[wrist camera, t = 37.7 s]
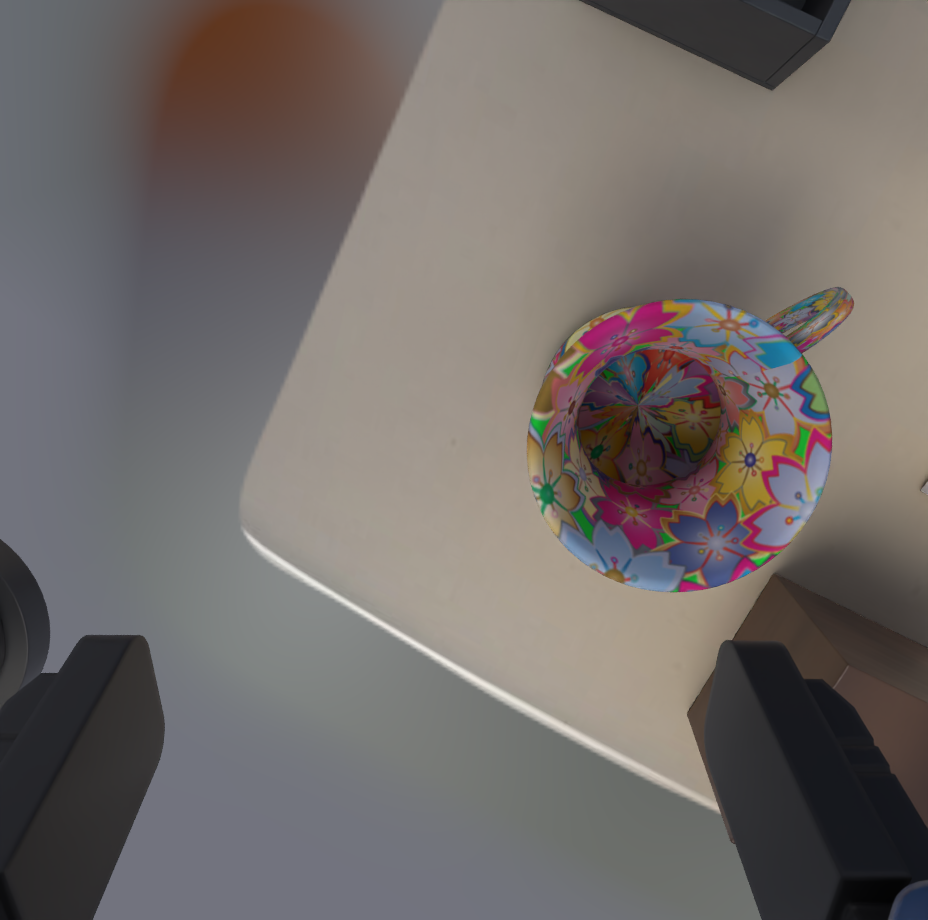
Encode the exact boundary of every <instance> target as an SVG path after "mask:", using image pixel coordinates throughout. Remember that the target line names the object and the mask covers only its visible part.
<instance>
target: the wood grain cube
mask: <svg viewBox="0 0 928 920" xmlns="http://www.w3.org/2000/svg"><path fill="white" fill-rule="evenodd" d="M733 640H750V641H780V642H782V643H783V644H784V645H785V647H786V648H787V650H788V651H789V653H790V655H791V657H792V659H793V660H794V662H795V664H796V666H797V668H798V670H799V671H800V673H801V675H802V677H803V679H823V680H824V681H825V682H826V683H828V684H829V685H830V686H831V687H832V688H833V689H834V690H836V691H837V692H838V693H839V694H840V695H841V696H842V697H844V698H845V699H846V700H847V701H848V702H849V703H850V704H852V705H853V706H854V707H855V709H856V710H857V712H858V714H859V715H860V717H861V719H862V720H863V722H864V724H865V725H866V727H867V729H868V730H869V732H870V734H871V735H872V737H873V739H874V745H875V746H878V747H879V749H880V750H881V752H882V754H883V755H884V757H885V759H886V760H887V762H888V764H889V765H890V771H891V773H892V774H895V775H896V777H897V778H898V780H899V782H900V783H901V785H902V787H903V788H904V790H905V792H906V793H907V795H908V797H909V798H910V800H911V802H912V803H913V805H914V807H915V808H916V810H917V812H918V813H919V815H920V817H921V818H922V820H923V822H924V823H925V825H926V826H927V828H928V648H926V647H924V646H922V645H920V644H918V643H916V642H914V641H912V640H910V639H908V638H906V637H904V636H902V635H900V634H898V633H896V632H894V631H892V630H890V629H888V628H885V627H883V626H881V625H879V624H877V623H875V622H873V621H871V620H869V619H867V618H865V617H863V616H861V615H859V614H857V613H855V612H853V611H851V610H849V609H847V608H844V607H842V606H840V605H838V604H836V603H834V602H832V601H830V600H828V599H826V598H824V597H822V596H820V595H818V594H816V593H814V592H812V591H810V590H808V589H806V588H803V587H801V586H799V585H797V584H795V583H793V582H791V581H789V580H787V579H785V578H783V577H781V576H779V575H777V574H773V575H772V577H771V579H770V580H769V582H768V584H767V585H766V587H765V588H764V590H763V592H762V593H761V595H760V597H759V598H758V600H757V601H756V603H755V605H754V606H753V608H752V610H751V611H750V613H749V614H748V616H747V618H746V619H745V621H744V623H743V624H742V626H741V627H740V629H739V631H738V632H737V634H736V636H735V637H734V639H733ZM714 672H715V670H714V671H713V673H712V675H711V676H710V678H709V679H708V681H707V683H706V684H705V686H704V688H703V689H702V691H701V692H700V694H699V696H698V697H697V699H696V701H695V702H694V704H693V705H692V707H691V709H690V710H689V712H688V714H687V716H688V719H689V722H690V725H691V727H692V730H693V733H694V736H695V739H696V742H697V745H698V748H699V751H700V754H701V757H702V760H703V762H704V765H705V768H706V771H707V774H708V777H709V780H710V783H711V786H712V789H713V792H714V795H715V797H716V800H717V803H718V806H719V809H720V812H721V815H722V818H723V821H724V824H725V827H726V829H727V832H728V835H729V838H730V841H731V842H732V843H734V844H735V841H734V839H733V836H732V833H731V830H730V827H729V824H728V821H727V819H726V816H725V813H724V810H723V807H722V804H721V801H720V798H719V796H718V793H717V790H716V787H715V784H714V781H713V778H712V776H711V773H710V770H709V767H708V763H707V759H706V753H705V745H704V723H705V717H706V712H707V707H708V702H709V697H710V692H711V687H712V682H713V677H714Z"/></svg>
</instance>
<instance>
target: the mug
mask: <svg viewBox="0 0 928 920" xmlns="http://www.w3.org/2000/svg"><path fill="white" fill-rule="evenodd" d="M853 307H854V301H853V298H852V297H851V295H850V294H849V293H848V292H847V291H846V290H845V289H843V288H841V287H835V288H830V289H827V290H824V291H821V292H819V293H817V294H814V295H812V296H810V297H808V298H806V299H804V300H802V301H800V302H798V303H796V304H794V305H792V306H790V307H788V308H786V309H784V310H783V311H781V312H779V313H777V314H776V315H774V316H772V317H770V318H769V319H767V320H765V321H763V320H762V319H760V318H758V317H756V316H754V315H752V314H750V313H748V312H746V311H743V310H741V309H738V308H735V307H732V306H729V305H726V304H721V303H717V302H712V301H705V300H696V299H675V300H664V301H658V302H652V303H648V304H644V305H640V306H636V307H628V308H622V309H618V310H614V311H611V312H608V313H606V314H603V315H601V316H599V317H597V318H595V319H593V320H591V321H590V322H588V323H586V324H585V325H583V326H582V327H581V328H579V329H578V330H577V331H576V332H575V333H573V334H572V335H571V336H570V337H569V338H568V339H567V340H566V342H565V343H564V344H563V345H562V346H561V348H560V349H559V350H558V352H557V353H556V355H555V356H554V358H553V360H552V361H551V363H550V366H549V368H548V370H547V372H546V375H545V378H544V381H543V385H542V388H541V390H540V392H539V394H538V397H537V399H536V402H535V405H534V408H533V411H532V415H531V419H530V424H529V431H528V438H527V462H528V471H529V477H530V482H531V486H532V490H533V493H534V496H535V499H536V501H537V504H538V507H539V509H540V511H541V513H542V515H543V517H544V519H545V520H546V522H547V523H548V525H549V527H550V528H551V530H552V531H553V533H554V534H555V535H556V536H557V538H558V539H559V540H560V542H561V543H562V544H563V545H564V546H565V547H566V548H567V549H568V550H569V551H570V552H571V553H572V554H573V555H575V556H576V557H577V558H578V559H579V560H580V561H582V562H583V563H585V564H586V565H587V566H589V567H590V568H592V569H593V570H595V571H597V572H599V573H600V574H602V575H604V576H606V577H608V578H610V579H613V580H615V581H617V582H620V583H623V584H626V585H629V586H632V587H637V588H641V589H645V590H652V591H660V592H689V591H697V590H703V589H708V588H713V587H717V586H720V585H723V584H726V583H729V582H732V581H734V580H737V579H739V578H741V577H744V576H745V575H747V574H749V573H751V572H753V571H755V570H757V569H758V568H760V567H761V566H763V565H764V564H766V563H767V562H769V561H770V560H771V559H773V558H774V557H775V556H776V555H778V554H779V553H780V552H781V551H782V550H783V549H784V548H785V547H786V546H787V545H789V544H790V543H791V541H792V540H793V539H794V538H795V537H796V536H797V535H798V533H799V532H800V531H801V530H802V528H803V527H804V525H805V524H806V523H807V521H808V520H809V518H810V516H811V515H812V513H813V511H814V509H815V508H816V506H817V503H818V501H819V499H820V497H821V495H822V492H823V489H824V486H825V483H826V480H827V476H828V472H829V467H830V461H831V453H832V429H831V419H830V414H829V409H828V405H827V402H826V398H825V395H824V392H823V390H822V387H821V385H820V383H819V380H818V378H817V376H816V375H815V373H814V371H813V369H812V368H811V366H810V364H809V363H808V362H807V360H806V359H805V357H804V356H803V355H802V353H803V352H805V351H806V350H808V349H809V348H811V347H812V346H814V345H815V344H817V343H818V342H819V341H821V340H822V339H823V338H825V337H826V336H827V335H829V334H830V333H831V332H832V331H833V330H834V329H836V328H837V327H838V326H839V325H840V324H841V323H842V322H843V321H844V320H845V319H846V318H847V317H848V315H849V314H850V313H851V311H852V309H853ZM807 320H809V321H807ZM805 321H807V322H806V323H805V324H803V325H802V326H801V327H799V328H798V329H796V330H795V331H793V332H792V333H790V334H789V335H787V336H786V337H785V336H784V335H783V334H782V333H784V332H786V331H788V330H790V329H792V328H794V327H795V326H797V325H799V324H801V323H803V322H805Z"/></svg>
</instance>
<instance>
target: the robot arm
mask: <svg viewBox="0 0 928 920" xmlns="http://www.w3.org/2000/svg"><path fill="white" fill-rule="evenodd" d="M4 654H5V641H4V633H3V628H2V624H1V620H0V671H1V669H2V665H3V661H4ZM164 731H165V723H164V715H163V710H162V705H161V701H160V696H159V691H158V687H157V682H156V677H155V673H154V668H153V664H152V659H151V654H150V649H149V646H148V643H147V641H146V639H145V638H144V637H143V636H140V635H86V636H84V637H82V638H81V639H80V640H79V642H78V643H77V644H76V646H75V647H74V649H73V650H72V652H71V654H70V655H69V657H68V658H67V660H66V661H65V663H64V665H63V666H62V668H61V669H60V671H59V672H58V673H41V674H39V675H38V676H37V677H36V678H34V679H33V680H32V681H31V682H29V683H28V684H27V685H26V686H24V687H23V688H22V689H21V690H19V691H18V692H17V693H16V694H14V695H13V696H12V697H11V698H9V699H8V700H7V701H6V702H5V703H4V705H3V706H2V708H1V709H0V920H93V918H94V915H95V913H96V910H97V908H98V906H99V903H100V901H101V899H102V896H103V894H104V891H105V889H106V887H107V884H108V882H109V880H110V877H111V875H112V872H113V870H114V867H115V865H116V863H117V860H118V858H119V856H120V853H121V851H122V849H123V846H124V844H125V842H126V839H127V836H128V834H129V832H130V830H131V827H132V825H133V822H134V820H135V818H136V815H137V813H138V811H139V808H140V806H141V804H142V801H143V799H144V796H145V794H146V792H147V789H148V787H149V785H150V782H151V780H152V777H153V775H154V773H155V770H156V768H157V766H158V763H159V760H160V757H161V753H162V749H163V743H164ZM704 745H705V753H706V759H707V763H708V767H709V770H710V773H711V776H712V778H713V781H714V784H715V787H716V790H717V793H718V796H719V798H720V801H721V804H722V807H723V810H724V813H725V816H726V819H727V821H728V824H729V827H730V830H731V833H732V836H733V839H734V841H735V844H736V847H737V850H738V853H739V856H740V858H741V861H742V864H743V867H744V870H745V873H746V876H747V879H748V882H749V884H750V887H751V890H752V893H753V896H754V899H755V901H756V904H757V907H758V910H759V913H760V916H761V919H762V920H928V828H927V826H926V825H925V823H924V822H923V820H922V818H921V817H920V815H919V813H918V812H917V810H916V808H915V807H914V805H913V803H912V802H911V800H910V798H909V797H908V795H907V793H906V792H905V790H904V788H903V787H902V785H901V783H900V782H899V780H898V778H897V777H896V775H895V774H892V773H891V771H890V765H889V764H888V762H887V760H886V759H885V757H884V755H883V754H882V752H881V750H880V749H879V747H878V746H875V745H874V739H873V737H872V735H871V734H870V732H869V730H868V729H867V727H866V725H865V724H864V722H863V720H862V719H861V717H860V715H859V714H858V712H857V710H856V709H855V707H854V706H853V705H852V704H850V703H849V702H848V701H847V700H846V699H845V698H844V697H842V696H841V695H840V694H839V693H838V692H837V691H836V690H834V689H833V688H832V687H831V686H830V685H829V684H828V683H826V682H825V681H824V680H823V679H803V677H802V675H801V673H800V671H799V670H798V668H797V666H796V664H795V662H794V660H793V659H792V657H791V655H790V653H789V651H788V650H787V648H786V647H785V645H784V644H783V643H782V642H780V641H750V640H726V641H724V642H723V643H722V644H721V646H720V649H719V653H718V657H717V662H716V667H715V672H714V677H713V682H712V687H711V692H710V697H709V702H708V707H707V712H706V717H705V723H704Z"/></svg>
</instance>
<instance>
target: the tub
mask: <svg viewBox="0 0 928 920" xmlns="http://www.w3.org/2000/svg"><path fill="white" fill-rule="evenodd" d="M580 1H582V2H585V3H587V4H589V5H591V6H593V7H595V8H597V9H600V10H602V11H604V12H606V13H608V14H610V15H612V16H614V17H617V18H619V19H621V20H623V21H625V22H627V23H629V24H631V25H634V26H636V27H638V28H640V29H642V30H644V31H646V32H648V33H651V34H653V35H655V36H657V37H659V38H661V39H663V40H666V41H668V42H670V43H672V44H674V45H676V46H678V47H680V48H683V49H685V50H687V51H689V52H691V53H693V54H695V55H697V56H700V57H702V58H704V59H706V60H708V61H710V62H712V63H715V64H717V65H719V66H721V67H723V68H725V69H727V70H729V71H732V72H734V73H736V74H738V75H740V76H742V77H744V78H746V79H749V80H751V81H753V82H755V83H757V84H759V85H761V86H764V87H766V88H768V89H770V90H773V89H775V88H776V87H777V86H778V85H779V84H780V83H782V82H783V81H784V80H785V79H786V78H787V77H789V76H790V75H791V74H792V73H793V72H794V71H796V70H797V69H798V68H799V67H800V66H802V65H803V64H804V63H805V62H806V61H807V60H809V59H810V58H811V57H812V56H813V55H814V54H816V53H817V52H818V51H819V50H820V49H821V48H823V47H824V46H825V45H826V44H827V43H828V42H830V40H831V38H832V36H833V34H834V32H835V30H836V29H837V27H838V25H839V23H840V21H841V19H842V17H843V15H844V13H845V11H846V9H847V7H848V5H849V3H850V1H851V0H580Z"/></svg>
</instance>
